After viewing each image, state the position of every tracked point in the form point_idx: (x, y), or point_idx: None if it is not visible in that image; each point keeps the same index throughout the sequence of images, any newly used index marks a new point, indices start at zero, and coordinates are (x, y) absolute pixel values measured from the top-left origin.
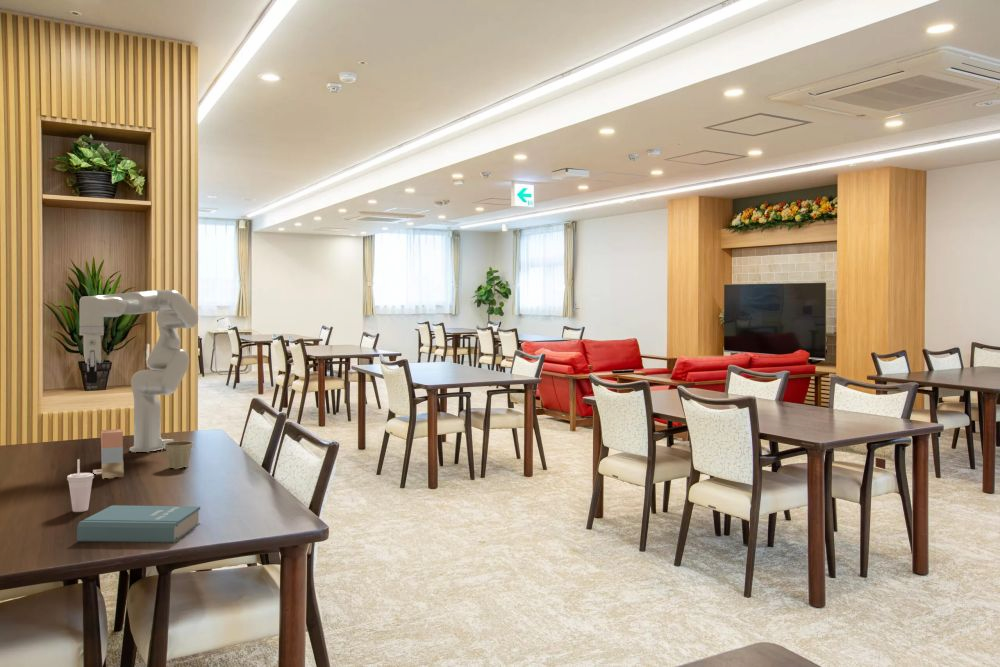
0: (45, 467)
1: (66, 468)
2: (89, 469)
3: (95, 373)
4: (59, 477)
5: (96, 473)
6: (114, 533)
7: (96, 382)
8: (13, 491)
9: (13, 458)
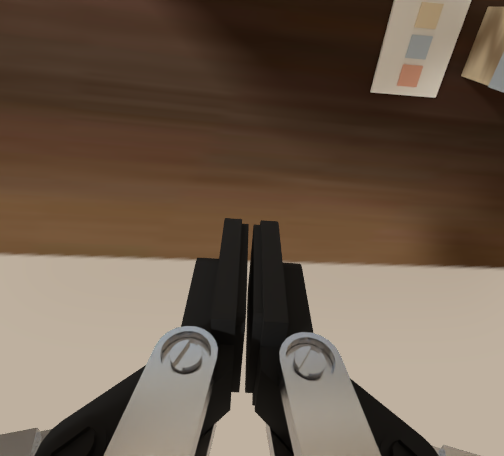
0: (238, 197)
1: (283, 154)
2: (340, 98)
3: (283, 313)
4: (399, 179)
5: (437, 89)
6: None
7: (275, 222)
8: (476, 261)
9: (75, 248)
